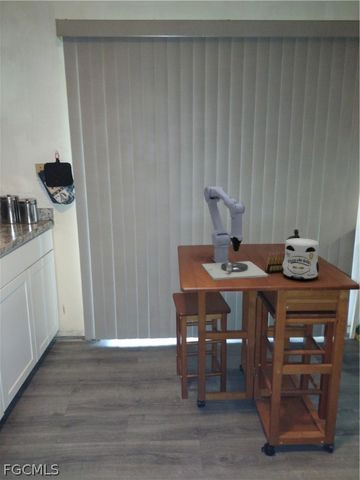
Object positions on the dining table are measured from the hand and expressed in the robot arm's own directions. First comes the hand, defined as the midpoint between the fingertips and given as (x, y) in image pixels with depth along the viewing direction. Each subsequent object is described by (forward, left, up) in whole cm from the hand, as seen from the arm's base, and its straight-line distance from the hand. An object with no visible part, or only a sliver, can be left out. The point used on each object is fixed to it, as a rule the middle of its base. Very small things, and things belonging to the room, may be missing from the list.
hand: (236, 251), depth 201 cm
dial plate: (+5, -3, -9) cm, 11 cm away
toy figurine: (-18, +42, -10) cm, 47 cm away
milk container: (+21, +26, -10) cm, 35 cm away
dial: (+6, -3, -8) cm, 11 cm away
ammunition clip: (+11, +18, -9) cm, 23 cm away
